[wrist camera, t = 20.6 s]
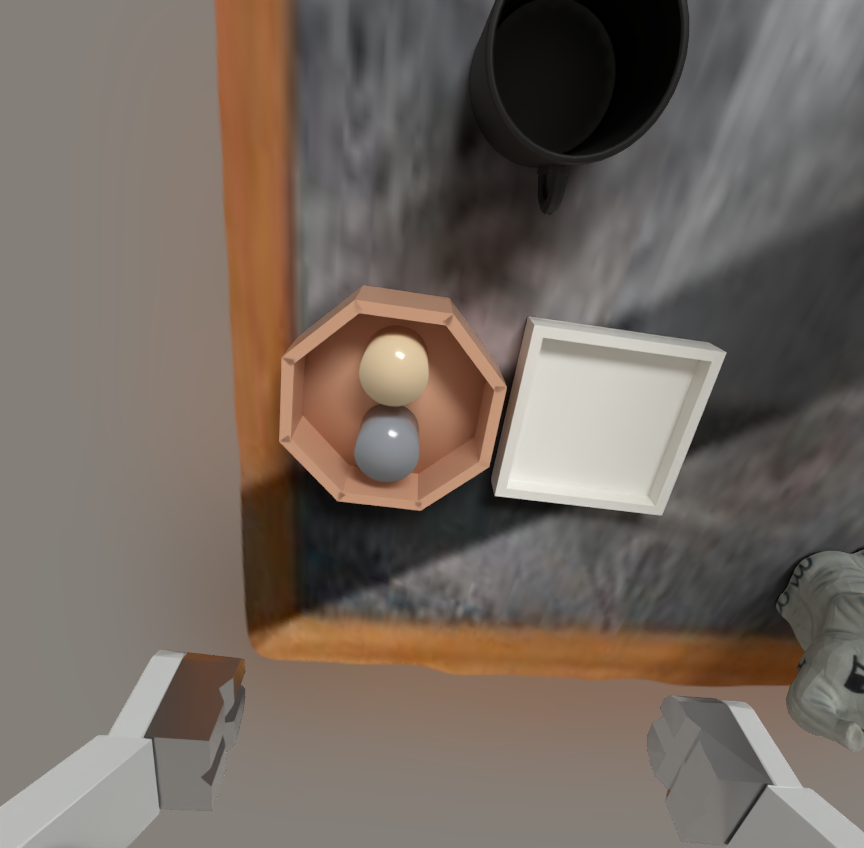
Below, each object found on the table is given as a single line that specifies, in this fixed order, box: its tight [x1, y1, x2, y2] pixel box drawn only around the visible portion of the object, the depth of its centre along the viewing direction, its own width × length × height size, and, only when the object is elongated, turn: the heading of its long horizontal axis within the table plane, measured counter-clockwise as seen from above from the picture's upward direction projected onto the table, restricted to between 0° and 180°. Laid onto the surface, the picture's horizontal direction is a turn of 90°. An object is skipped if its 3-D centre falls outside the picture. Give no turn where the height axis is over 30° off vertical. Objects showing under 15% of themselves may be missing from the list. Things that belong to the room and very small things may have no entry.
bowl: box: [279, 285, 507, 511], centre depth 38 cm, size 15×15×5 cm
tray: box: [491, 316, 727, 516], centre depth 41 cm, size 14×14×2 cm
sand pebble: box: [359, 325, 429, 406], centre depth 37 cm, size 5×5×4 cm
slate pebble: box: [354, 404, 419, 482], centre depth 39 cm, size 5×5×4 cm
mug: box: [470, 0, 689, 215], centre depth 29 cm, size 9×12×9 cm
